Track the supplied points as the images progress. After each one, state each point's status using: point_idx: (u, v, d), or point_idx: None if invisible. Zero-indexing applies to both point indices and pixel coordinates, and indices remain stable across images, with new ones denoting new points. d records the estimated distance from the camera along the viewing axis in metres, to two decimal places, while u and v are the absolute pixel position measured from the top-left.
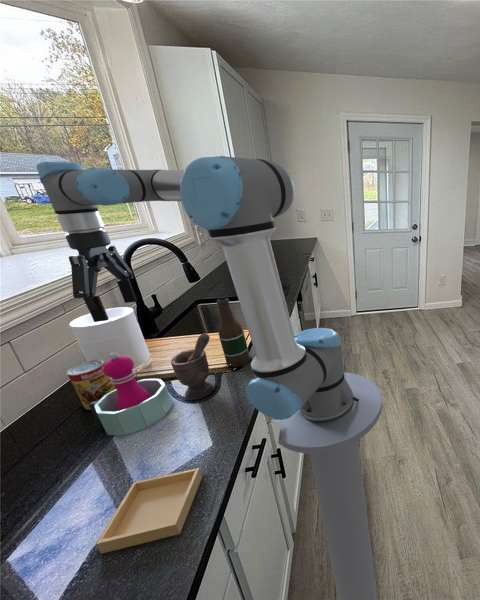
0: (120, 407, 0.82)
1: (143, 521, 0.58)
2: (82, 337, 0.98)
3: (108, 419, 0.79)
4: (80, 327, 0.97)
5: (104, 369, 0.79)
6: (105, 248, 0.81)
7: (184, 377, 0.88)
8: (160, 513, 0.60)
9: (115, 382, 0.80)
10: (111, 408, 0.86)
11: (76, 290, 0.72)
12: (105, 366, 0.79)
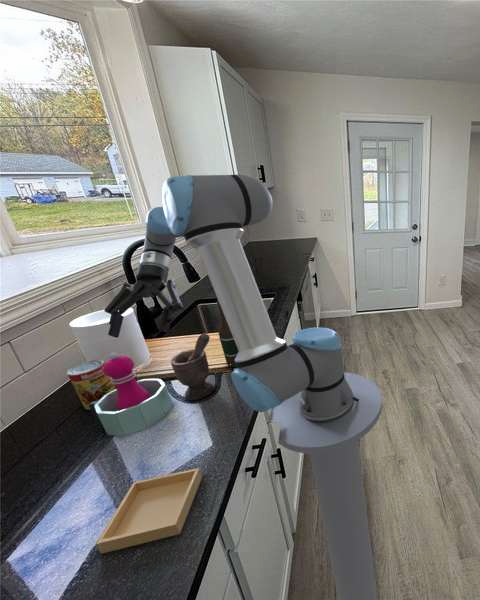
0: (120, 407, 0.82)
1: (143, 521, 0.58)
2: (83, 337, 0.98)
3: (108, 419, 0.79)
4: (80, 327, 0.97)
5: (104, 369, 0.79)
6: None
7: (184, 377, 0.88)
8: (160, 513, 0.60)
9: (115, 382, 0.80)
10: (111, 408, 0.86)
11: (178, 301, 0.93)
12: (105, 366, 0.79)
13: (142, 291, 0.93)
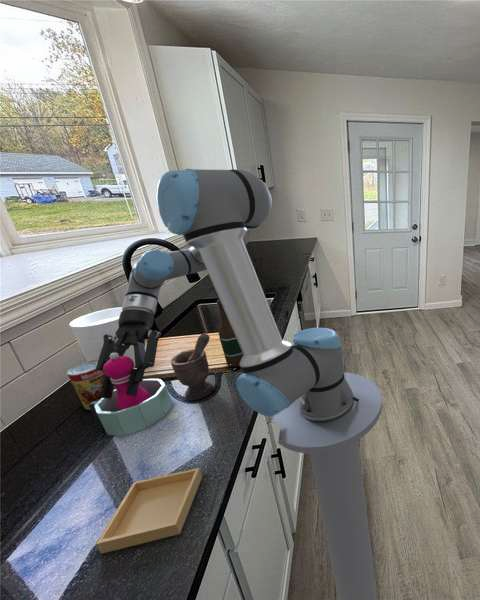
0: (120, 407, 0.82)
1: (143, 521, 0.58)
2: (83, 337, 0.98)
3: (108, 419, 0.79)
4: (80, 327, 0.97)
5: (104, 369, 0.79)
6: None
7: (184, 377, 0.88)
8: (160, 513, 0.60)
9: (115, 382, 0.80)
10: (111, 408, 0.86)
11: (150, 359, 0.84)
12: (105, 366, 0.79)
13: (124, 340, 0.85)
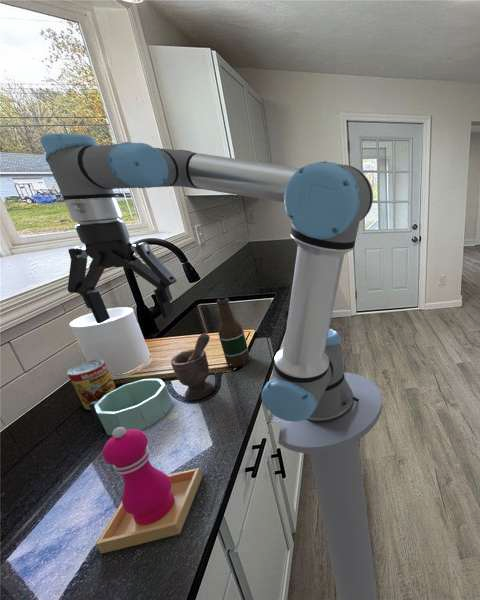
0: (141, 503, 0.56)
1: None
2: (82, 337, 0.98)
3: (108, 419, 0.79)
4: (80, 327, 0.97)
5: (113, 456, 0.52)
6: None
7: (184, 377, 0.88)
8: None
9: (131, 469, 0.54)
10: (111, 408, 0.86)
11: (168, 276, 0.67)
12: (115, 450, 0.52)
13: (105, 263, 0.64)
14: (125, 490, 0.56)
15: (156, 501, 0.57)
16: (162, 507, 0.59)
